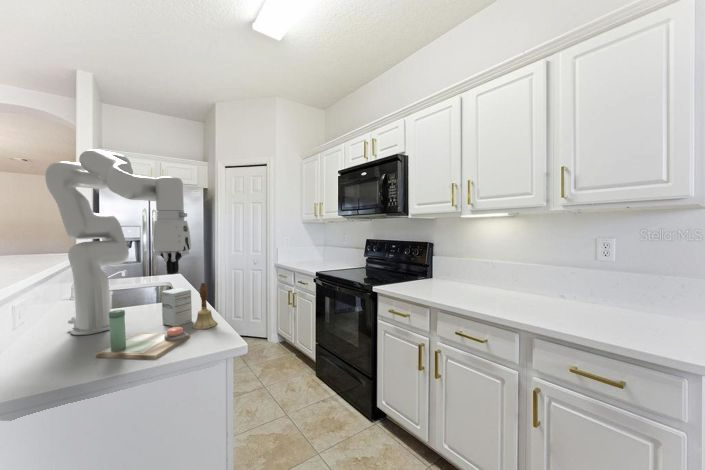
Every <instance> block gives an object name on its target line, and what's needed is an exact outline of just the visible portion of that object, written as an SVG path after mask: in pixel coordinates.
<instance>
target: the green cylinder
mask: <svg viewBox="0 0 705 470" xmlns="http://www.w3.org/2000/svg"><path fill="white" fill-rule="evenodd" d="M125 316H126V310H125V309H116V310H112V311H111V310H110V312H109V324H110V329H109V338H110V339H109V340H110V341H109V342H110V347H111V351H112V352H116V351H121V350H124V349H125V348H126V339H127V337H126V319H125V318H126V317H125Z"/></svg>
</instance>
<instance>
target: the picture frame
mask: <svg viewBox="0 0 705 470" xmlns="http://www.w3.org/2000/svg"><path fill="white" fill-rule="evenodd" d="M190 337H191V334H190V333H187V332H186V331H185V330H183V333H182V334H180V335H177V336H167V332H166V333H165V332H163V333H160V332H138V333H136V334H134V335H132V336H130V337H128V338H127V337H126V348H125V349H124V350H121V351H116V352H112V351H111V346H109V347H107V348H104V349H103V350H101V351H99V352H97V353H96V354H95V357H96V358H109V359H112V358H113V359H141V360H142V359H145V360H157V359H158V358H160V357H161V356H163V355H165V354H166V353H168V352H169V351H170V350H172V349H173V348H175V347H177V346H178V345H180V344H181V343H183V342H184V341H186V340H188V339H189V338H190Z"/></svg>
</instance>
